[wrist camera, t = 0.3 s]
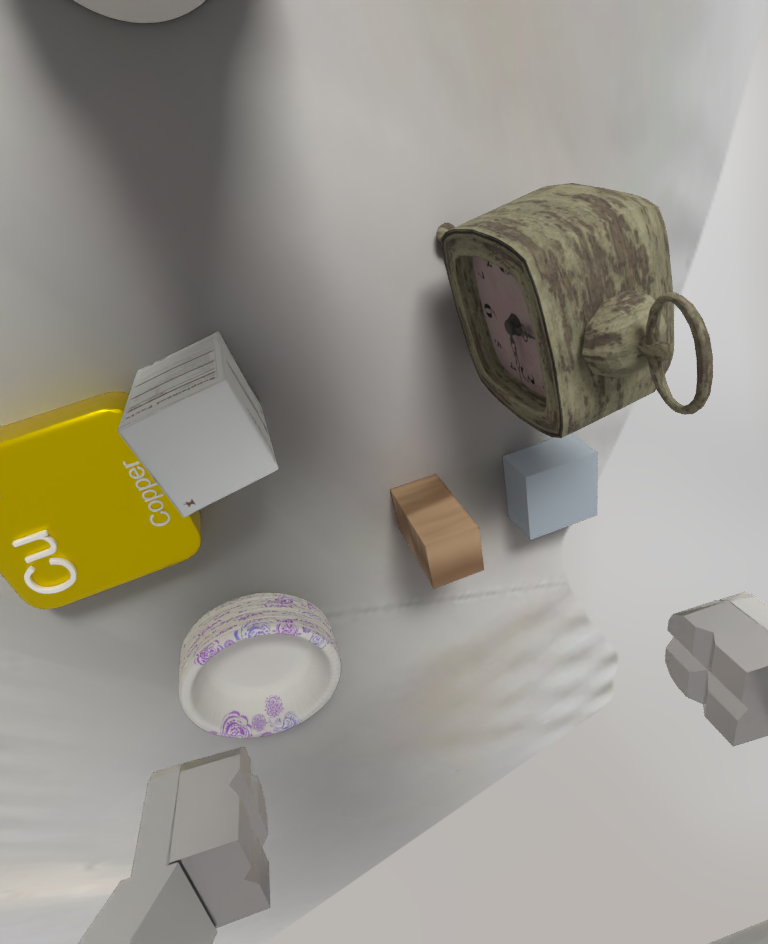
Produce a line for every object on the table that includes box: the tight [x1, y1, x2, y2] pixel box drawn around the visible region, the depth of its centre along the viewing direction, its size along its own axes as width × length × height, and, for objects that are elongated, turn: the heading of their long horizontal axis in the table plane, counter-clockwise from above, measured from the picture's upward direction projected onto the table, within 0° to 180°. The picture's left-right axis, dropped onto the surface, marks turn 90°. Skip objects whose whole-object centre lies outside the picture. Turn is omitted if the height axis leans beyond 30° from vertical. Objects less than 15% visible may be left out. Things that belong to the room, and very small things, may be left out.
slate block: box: [502, 434, 598, 540], centre depth 58 cm, size 8×8×5 cm
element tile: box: [0, 392, 201, 609], centre depth 44 cm, size 15×15×5 cm
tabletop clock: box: [437, 183, 713, 438], centre depth 37 cm, size 14×9×25 cm, turn 22°
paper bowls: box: [179, 593, 341, 738], centre depth 55 cm, size 15×15×8 cm
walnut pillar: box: [390, 474, 484, 588], centre depth 52 cm, size 5×5×10 cm
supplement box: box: [118, 332, 279, 517], centre depth 39 cm, size 7×7×13 cm
